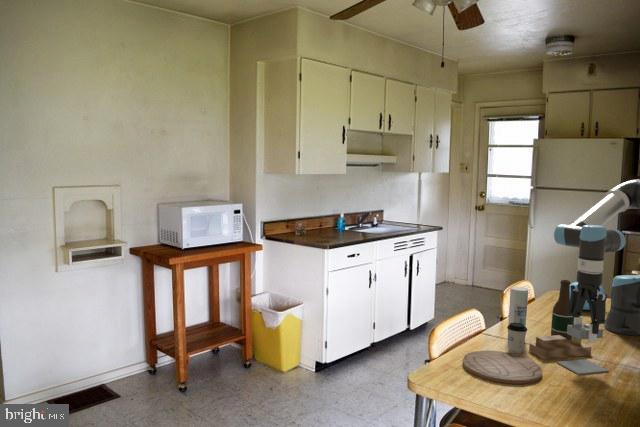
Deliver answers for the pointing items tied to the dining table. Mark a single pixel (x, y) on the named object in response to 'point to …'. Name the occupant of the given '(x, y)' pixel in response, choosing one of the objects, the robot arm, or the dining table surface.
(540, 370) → the trivet
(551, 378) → the dining table surface
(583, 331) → the lever cap
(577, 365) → the mat
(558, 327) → the beer bottle
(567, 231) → the robot arm
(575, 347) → the plane body
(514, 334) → the coffee cup
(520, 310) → the spray can
